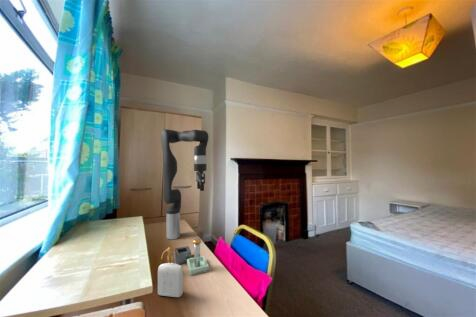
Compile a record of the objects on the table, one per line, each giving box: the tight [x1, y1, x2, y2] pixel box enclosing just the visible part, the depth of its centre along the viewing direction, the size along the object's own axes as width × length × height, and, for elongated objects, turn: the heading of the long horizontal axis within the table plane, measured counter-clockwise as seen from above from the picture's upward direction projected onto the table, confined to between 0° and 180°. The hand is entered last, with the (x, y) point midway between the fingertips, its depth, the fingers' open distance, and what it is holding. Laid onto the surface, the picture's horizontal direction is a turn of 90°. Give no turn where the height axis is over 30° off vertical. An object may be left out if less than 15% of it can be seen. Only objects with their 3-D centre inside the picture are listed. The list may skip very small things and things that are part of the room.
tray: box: [186, 255, 210, 276], centre depth 100 cm, size 11×9×2 cm
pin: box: [192, 237, 202, 268], centre depth 100 cm, size 4×4×13 cm
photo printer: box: [157, 262, 184, 298], centre depth 81 cm, size 10×4×12 cm, turn 81°
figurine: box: [160, 246, 179, 263], centre depth 96 cm, size 8×6×12 cm
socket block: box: [173, 245, 192, 265], centre depth 108 cm, size 8×8×5 cm
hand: (200, 189), depth 120 cm, fingers open, 8 cm apart
